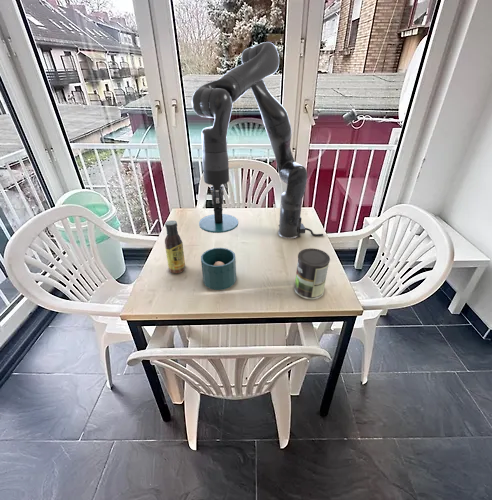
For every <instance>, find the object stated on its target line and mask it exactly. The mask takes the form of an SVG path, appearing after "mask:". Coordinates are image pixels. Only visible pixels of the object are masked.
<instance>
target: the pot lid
mask: <svg viewBox="0 0 492 500" xmlns="http://www.w3.org/2000/svg"><path fill="white" fill-rule="evenodd" d="M216 208H217V207H216ZM213 212H214V211H213ZM198 226H199V228H200V229H201V230H202V231H204V232H207V233H212V234H223V233H228V232H232V231H233V230H235V229H237V228H238V226H239V219H238V218H237V217H235V216H234V215H230V214H226V213H222V222H216V221H215V212H214V213H213V214H208V215H205V216H204V217H202V218H201V219H200V220H199V221H198Z"/></svg>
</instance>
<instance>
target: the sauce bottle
mask: <svg viewBox="0 0 492 500" xmlns="http://www.w3.org/2000/svg"><path fill="white" fill-rule="evenodd" d="M164 224H165V225H164V227H165V228H166V229H165V230H166V236H165V238H164V247H165V253H166V262H167V267H168V271H169V272H170V273H172V274H180V273H182V272H184V270H185V268H186V260H185V253H184V252H185V251H184V244H183V241H182V238H181V236H180V234H179V231H178V222H177V221H176V220H167V221H165V222H164Z"/></svg>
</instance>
